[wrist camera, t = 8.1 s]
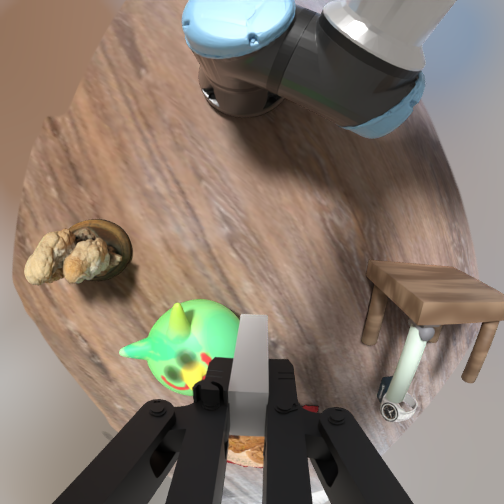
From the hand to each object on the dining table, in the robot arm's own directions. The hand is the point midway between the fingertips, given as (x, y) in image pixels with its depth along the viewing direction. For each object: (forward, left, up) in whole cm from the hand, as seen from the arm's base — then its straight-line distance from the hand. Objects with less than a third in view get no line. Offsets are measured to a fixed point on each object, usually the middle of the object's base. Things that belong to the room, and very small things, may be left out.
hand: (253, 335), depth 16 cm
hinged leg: (+12, +22, -18) cm, 31 cm away
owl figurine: (+5, -31, -33) cm, 46 cm away
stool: (+10, +30, -33) cm, 46 cm away
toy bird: (+18, -9, -33) cm, 39 cm away
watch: (+31, +32, -33) cm, 55 cm away
